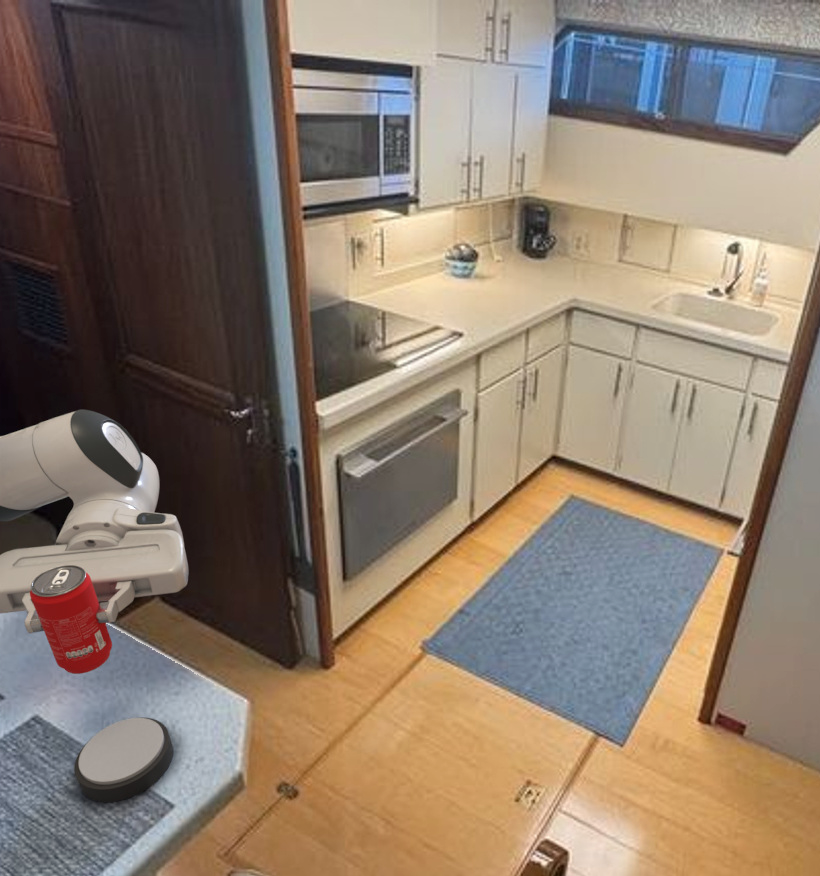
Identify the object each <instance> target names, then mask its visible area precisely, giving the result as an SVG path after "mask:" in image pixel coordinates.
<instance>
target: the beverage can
mask: <svg viewBox="0 0 820 876" xmlns="http://www.w3.org/2000/svg"><path fill="white" fill-rule="evenodd" d="M30 597H31V599H32V602H33V604H34V607H35V609H36V612H37V615H38V617H39V620H40V622H41V625H42V627H43V630H44V631H43V633H44V634H45V637H46V639H47V642H48V645H49V646H50V650H51V652H52V655H53V658H54V659H55V662H56V664H57V666H58V667H59V668H61V669H63V670H64V671H66V673H69V674H71V675H82V674H87V673H90V672H93V671H95V670H97V669H98V668H100V667H102V666H103V665H105V663H106V662H107V661H108V660H109V658H110V656H111V650H112V648H113V642H112V639H111V636H110V632H109V629H108V626H107V623H102V624H99V623H98V619H97V617H96V612H97V610H98V609H99V603H100V602H98V599H97V596H96V593H95V590H94V587H93V584H92V581H91V578H90V576H89V574H88V573H86V572H85V570H84V569H83V568H81V567H79V566H75V565H64V566H58V567H55V568H52V569H49V570H47V571H45V572H43V573H41V574H40V575H38V576H37V577H36V578H35V579H34V580H33V582H32V583H31V591H30Z"/></svg>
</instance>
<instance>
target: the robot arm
mask: <svg viewBox="0 0 820 876" xmlns="http://www.w3.org/2000/svg"><path fill="white" fill-rule="evenodd" d="M159 495H160V475H159V470H158V468H157V465H156V464H155V463H154V461H153V460H152V459H151V458H150V457H149V456H148V455H146V454H145V453H144V452H142V451H141V450H140V447H139V445H138V444H137V441H136V440H135V439H134V438H133V436H132V435H131V434H130V432H128V430H127V429H126V428H125V427H124V426H123V425H122V424H121V423H119V422H117V421H116V420H114V419H112V418H111V417H109V416H107V415H105V414H102V413H100V412H96V411H93V410H89V409H78V410H75V411H71V412H68V413H64V414H61V415H59V416H56V417H52V418H49V419H48V420H45V421H41V422H39V423H37V424H35V425H31V426H28V427H25V428H23V429H20V430H17V431H14V432H10V433H8V434H5V435H0V522H10V521H13V520H15V519H18V518H19V517H22V516H24V515H27V514H29V513H31V512H33V511H36V510H38V509H40V508H41V507H43V506H45V505H48V504H51V503H54V502H57V501H60V500H64V499H65V498H66V499H67V498H68V497H69V499H71V500H72V502H73V507H72V509H71V510H70V512H69V513H68V515H67V516H66V519H65V521H64V524H63V525H62V527H61V529H60V532H59V534H58V536H57V538H56V540H55V543H54V544H48V545H40V546H33V547H17V548H14V549H11V550H8V551H5V552H3V553H1V554H0V614H8V613H17V612H26V614H27V615H26V617H25V619H24V627H25V629H26V632H27V633H28V634H33V633H40V632H44V630H43V627H42V625H41V622H40V620H39V617H38V615H37V612H36V609H35V607H34V604H33V602H32V599H31V597H30V591H31V583H32V582H33V580H34V579H35V578H36V577H37V576H38V575H40V574H41V573H43V572H45V571H47V570H49V569H52V568H55V567H58V566H64V565H75V566H79V567H81V568H83V569H84V570H85V572H86V573H88V574H89V576H90V578H91V581H92V584H93V587H94V590H95V593H96V596H97V599H98V602H99V609H98V610H97V612H96V617H97V619H98V623H99V624H102V623H106V624H108V623H116V620H117V618H118V614H119V613H121V611H123V610H124V609H125V608H126V607H128V606H129V605H130V604H132V603H133V602H134V599H135V598H140V597H150V596H156V595H157V596H158V595H165V594H175V593H178V592H180V591H181V590H183V589H184V588H185V587H187V585H188V581H189V571H190V569H189V563H188V557H187V552H186V549H185V541H184V535H183V531H182V528H181V525H180V522H179V520H178V518H177V515H174V514H172V513H163V512H162V513H160V512H155V511H156V509H157V505H158V502H159V501H158V500H159Z"/></svg>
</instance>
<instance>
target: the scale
mask: <svg viewBox="0 0 820 876" xmlns="http://www.w3.org/2000/svg"><path fill="white" fill-rule="evenodd" d="M173 756H174V746H173V742H172V740H171V735H170V732H169V730H168V728H167V727H166V726H165V724H163V723H162V722H161V721H159V720H157V719H155V718H150V717H143V716H142V717H130V718H127V719H122V720H119V721H116V722H113V723H112V724H109V725H108V726H106V727H104V728H103V729H101V730H100V731H98V732H97V733H96V734H94V735H93V736H91V738H89V740H88V741H87V742H86V743H85V744H84V745H83V746H82V748H81V749H80V750H79V752H78V754H77V756H76V759H75V762H74V767H73V768H74V769H73V771H74V776H75V778H76V780H77V783H78V785H79V787H80V789H81V792H82V793H83V794H84V795H85V796H86V798H89V799H90V800H92V801H96V802H99V803H113V802H114V803H115V802H120V801H125V800H128V799H130V798H133V797H136V796H138V795H139V794H141V793H143V792H144V791H146V790H148V789H149V788H150V787H153V785H154V784H155V783H157V782H158V781H159V780H160V779H161V778H162V777H163V775H165V773H166V771H167V770H168V768H169V767H170V764H171V762H172V760H173Z"/></svg>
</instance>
